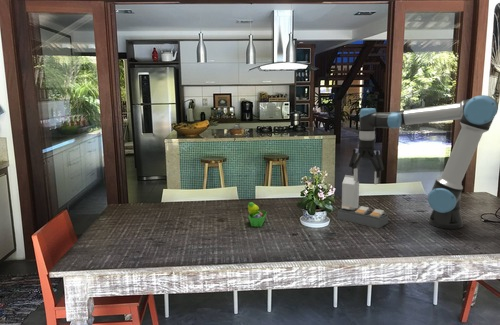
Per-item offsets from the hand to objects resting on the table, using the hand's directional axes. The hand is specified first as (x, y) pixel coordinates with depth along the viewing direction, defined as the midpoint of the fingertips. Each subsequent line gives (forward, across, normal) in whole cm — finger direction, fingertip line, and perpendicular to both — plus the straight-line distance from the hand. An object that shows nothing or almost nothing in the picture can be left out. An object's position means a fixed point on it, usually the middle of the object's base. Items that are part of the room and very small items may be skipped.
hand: (365, 182), depth 205 cm
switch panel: (+20, 0, +3) cm, 20 cm away
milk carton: (+20, +16, -14) cm, 30 cm away
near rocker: (+15, -8, +3) cm, 17 cm away
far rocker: (+15, +8, +3) cm, 17 cm away
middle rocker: (+15, 0, +3) cm, 15 cm away
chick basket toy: (+20, +38, +41) cm, 60 cm away
